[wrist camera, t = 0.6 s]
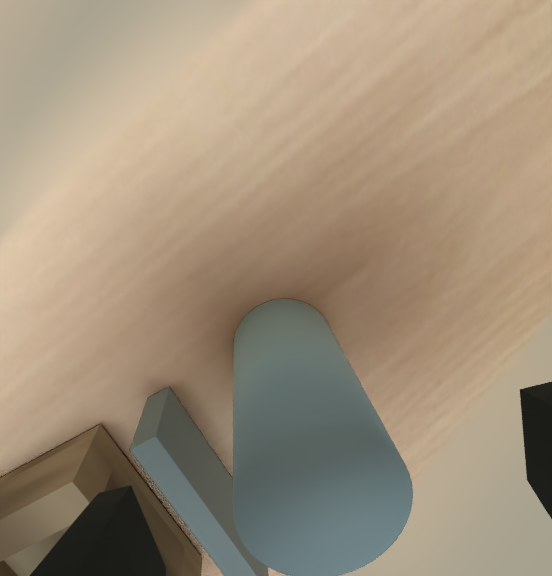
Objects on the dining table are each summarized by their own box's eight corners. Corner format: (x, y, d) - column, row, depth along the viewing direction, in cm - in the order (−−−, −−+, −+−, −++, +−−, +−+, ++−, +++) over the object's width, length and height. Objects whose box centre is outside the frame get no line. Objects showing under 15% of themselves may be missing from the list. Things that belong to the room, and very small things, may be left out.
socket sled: (51, 634, 22) (18, 722, 19) (-66, 512, 20) (-127, 587, 16) (202, 558, 21) (196, 633, 18) (100, 424, 19) (72, 481, 16)
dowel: (263, 407, 20) (286, 604, 11) (214, 329, 19) (198, 481, 10) (348, 362, 20) (439, 528, 11) (304, 280, 18) (367, 393, 10)
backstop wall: (244, 534, 21) (246, 605, 18) (147, 397, 19) (129, 449, 16) (264, 524, 21) (269, 593, 18) (169, 386, 19) (155, 435, 16)
